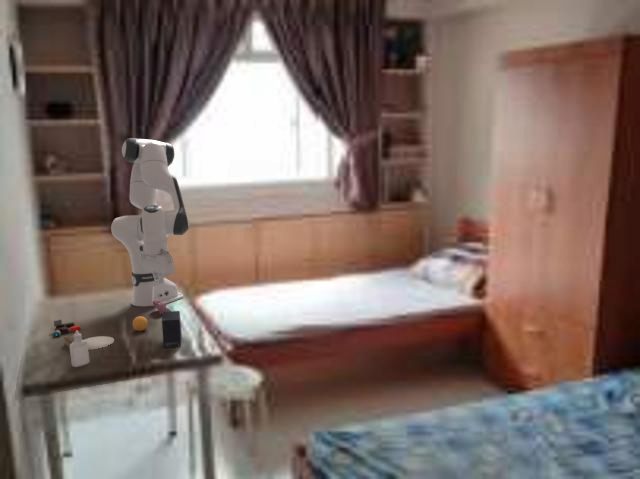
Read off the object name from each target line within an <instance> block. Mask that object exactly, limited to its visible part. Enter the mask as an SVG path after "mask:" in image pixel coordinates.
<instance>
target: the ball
mask: <svg viewBox="0 0 640 479" xmlns="http://www.w3.org/2000/svg"><path fill="white" fill-rule="evenodd" d="M148 325H149V324H148V319H147V318H146V317H145V316H142V315H141V316H140V315H139V316H136V317H135V318H133V321H132V327H133V329H134V330H135V331H137V332H141V331H144V330H146V328H147V327H148Z"/></svg>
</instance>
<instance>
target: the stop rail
mask: <svg viewBox="0 0 640 479" xmlns="http://www.w3.org/2000/svg"><path fill="white" fill-rule="evenodd" d="M63 338H64V340H63V341H64V345H66V347H67V348H70V344H71V343H72V342H74V335H71V334H69V335H66V336H64V337H63Z"/></svg>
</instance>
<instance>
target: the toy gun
mask: <svg viewBox="0 0 640 479" xmlns="http://www.w3.org/2000/svg"><path fill="white" fill-rule="evenodd" d="M53 326H54V327H55V329H54V332H53V334H52V336H53V338H56V337H57V336H58V338H59V337H60V336H61V335H67V334H69V333H74V332H75V333H76V330H78V332H79V331H80V330H81V329H82V327H81V325H79V324H78V325H75V322H74V321H73V322H67V323H62V319H57V320H56V319H55V320H53Z"/></svg>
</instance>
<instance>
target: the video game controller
mask: <svg viewBox="0 0 640 479" xmlns="http://www.w3.org/2000/svg"><path fill="white" fill-rule="evenodd" d="M152 307H153V308H156V309H157V311H158V313H159V314H161V315H163V312H169V311H172V310H171V309H170V308H168V307H167V305H166V304H163V303H162V301H161V300H158V299H157V300H154V301H153V306H152Z"/></svg>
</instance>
